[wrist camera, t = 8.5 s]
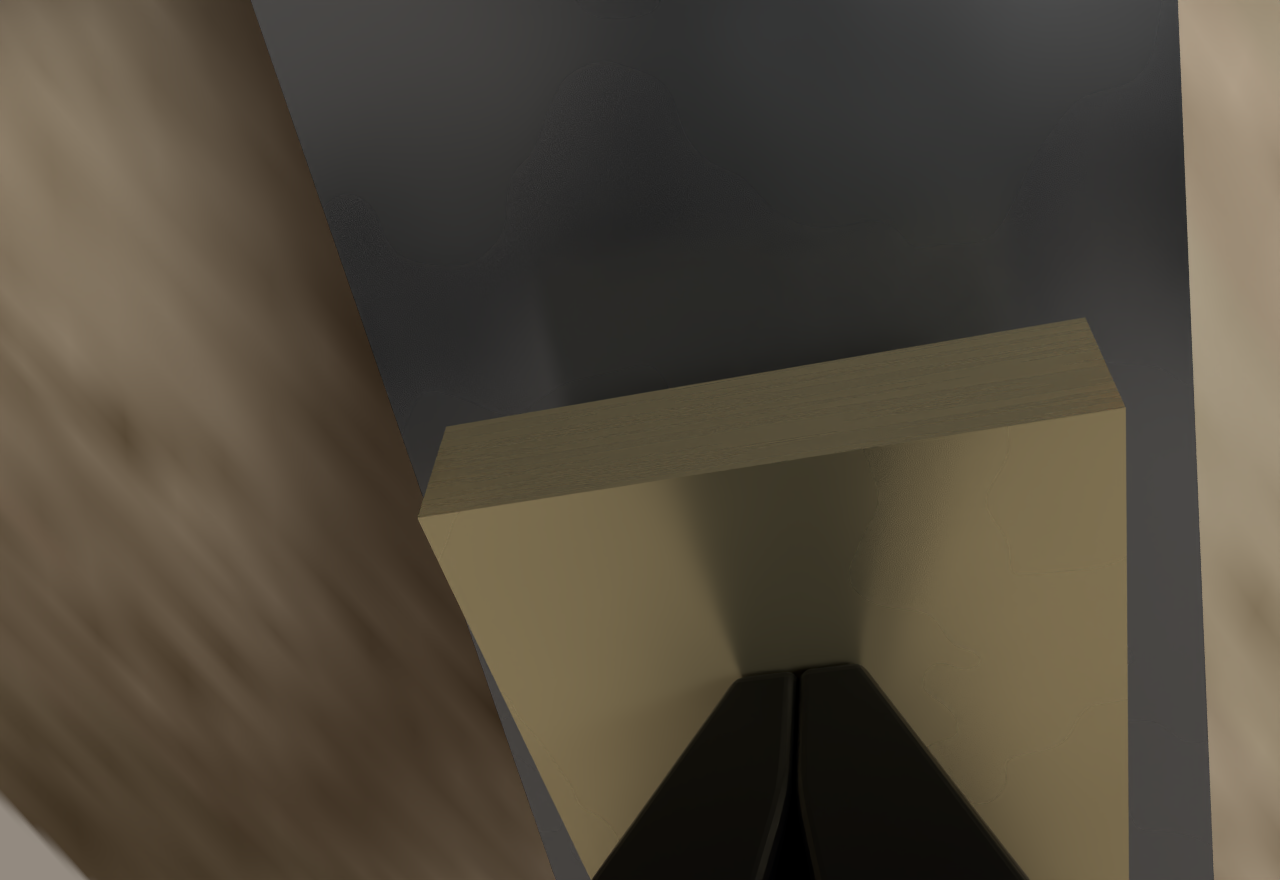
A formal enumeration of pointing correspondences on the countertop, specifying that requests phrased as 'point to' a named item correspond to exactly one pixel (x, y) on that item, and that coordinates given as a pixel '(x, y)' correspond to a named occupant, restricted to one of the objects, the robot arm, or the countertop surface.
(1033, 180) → the drawbar block
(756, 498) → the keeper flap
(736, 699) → the robot arm
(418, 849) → the countertop surface
